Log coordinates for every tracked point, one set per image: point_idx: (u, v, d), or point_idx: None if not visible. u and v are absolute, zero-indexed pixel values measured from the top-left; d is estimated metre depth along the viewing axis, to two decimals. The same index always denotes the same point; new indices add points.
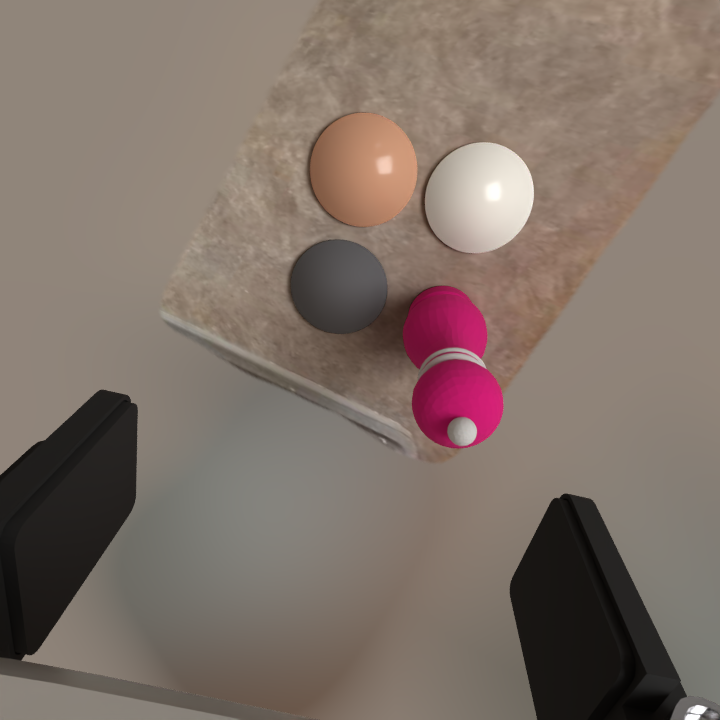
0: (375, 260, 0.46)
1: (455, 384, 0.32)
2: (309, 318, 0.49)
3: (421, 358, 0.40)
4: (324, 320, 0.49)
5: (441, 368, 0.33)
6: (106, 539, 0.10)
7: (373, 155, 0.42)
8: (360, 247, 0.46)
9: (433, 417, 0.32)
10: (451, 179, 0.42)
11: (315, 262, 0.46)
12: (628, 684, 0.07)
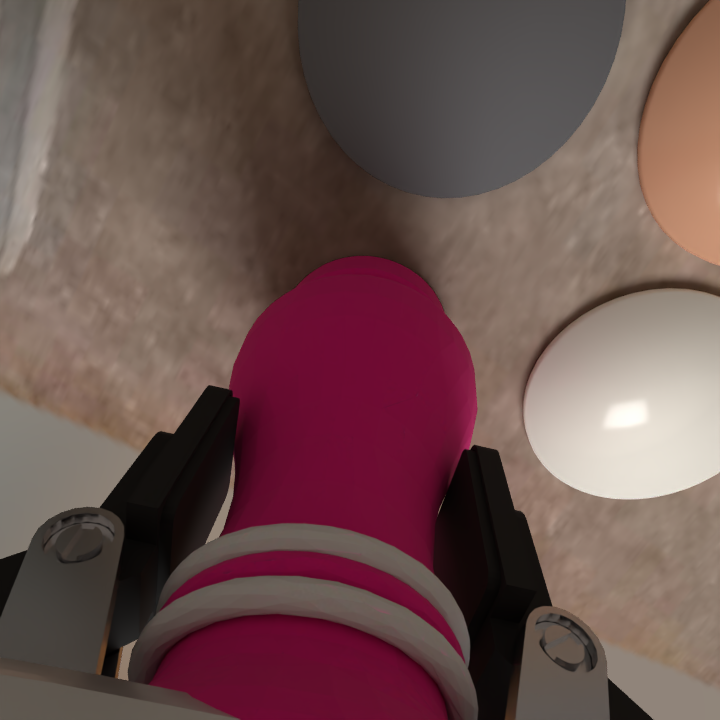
0: (576, 123, 0.15)
1: None
2: None
3: (337, 428, 0.10)
4: (332, 18, 0.14)
5: None
6: (211, 522, 0.11)
7: None
8: (610, 59, 0.14)
9: None
10: (713, 349, 0.18)
11: None
12: (495, 597, 0.08)
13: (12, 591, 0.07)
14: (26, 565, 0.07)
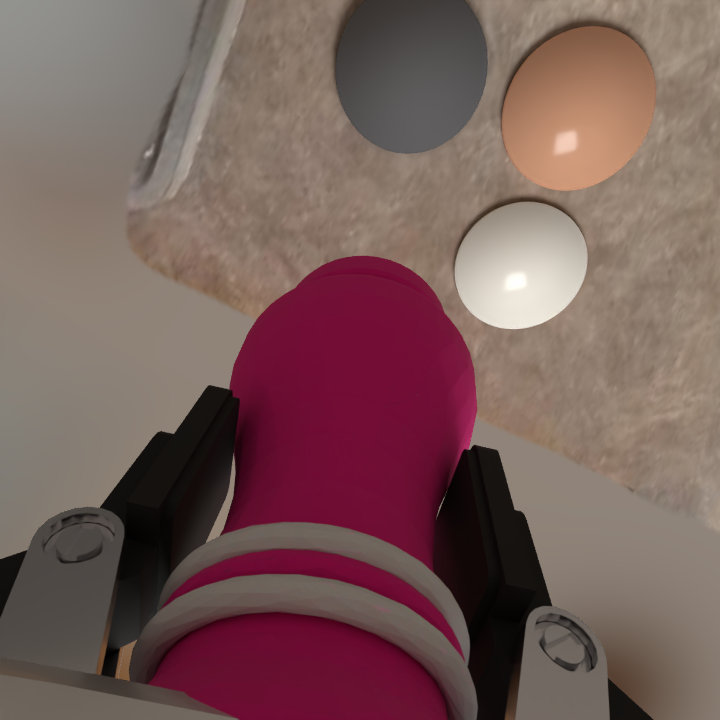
0: (479, 96, 0.31)
1: None
2: (342, 59, 0.30)
3: (337, 427, 0.10)
4: (352, 84, 0.31)
5: None
6: (211, 522, 0.11)
7: (596, 129, 0.31)
8: (486, 62, 0.30)
9: None
10: (550, 234, 0.34)
11: (428, 8, 0.29)
12: (494, 597, 0.08)
13: (12, 591, 0.07)
14: (26, 565, 0.07)
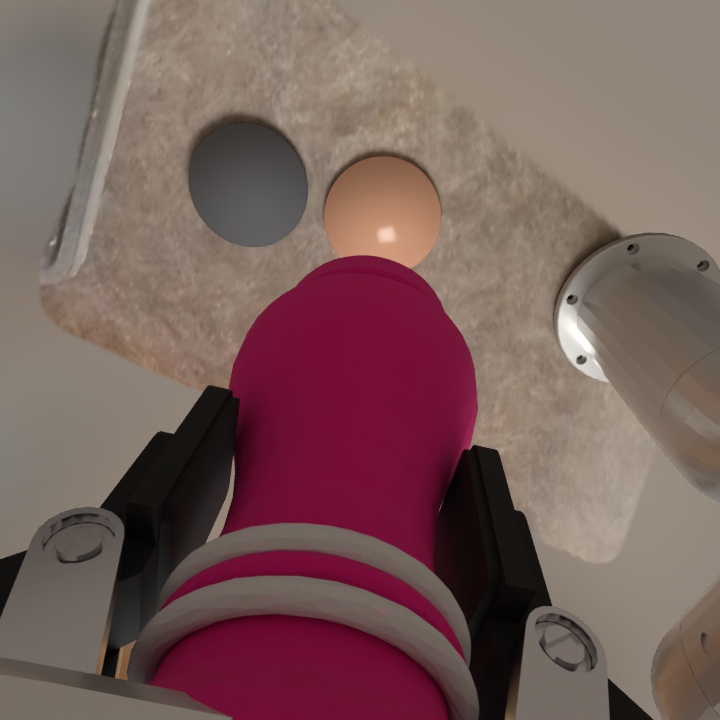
0: (305, 187, 0.39)
1: None
2: (195, 195, 0.39)
3: (337, 427, 0.10)
4: (210, 210, 0.40)
5: None
6: (212, 522, 0.11)
7: (398, 231, 0.40)
8: (299, 162, 0.38)
9: None
10: None
11: (242, 141, 0.37)
12: (494, 597, 0.08)
13: (12, 591, 0.07)
14: (26, 565, 0.07)
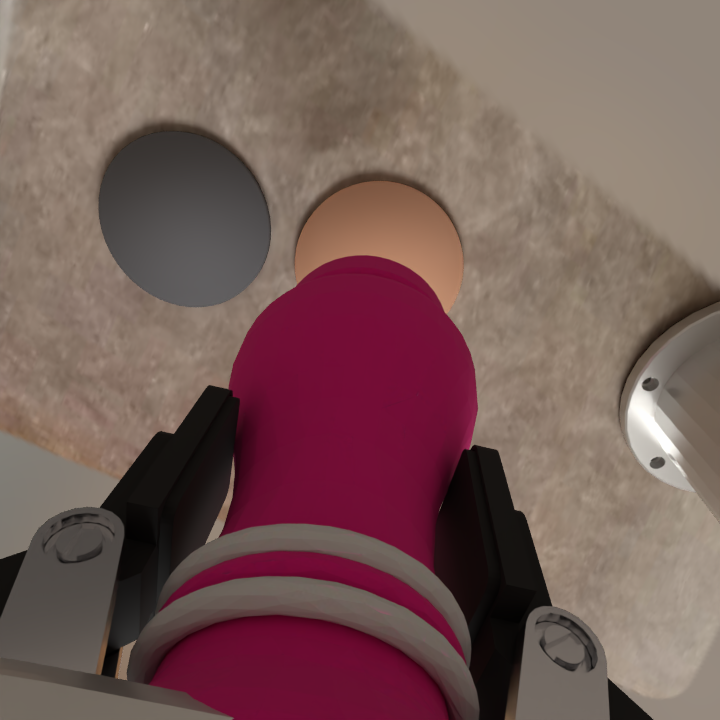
0: (259, 197, 0.26)
1: None
2: (120, 258, 0.28)
3: (337, 428, 0.10)
4: (145, 271, 0.28)
5: None
6: (212, 522, 0.11)
7: None
8: (239, 165, 0.25)
9: None
10: None
11: (153, 162, 0.26)
12: (494, 597, 0.08)
13: (12, 591, 0.07)
14: (26, 565, 0.07)
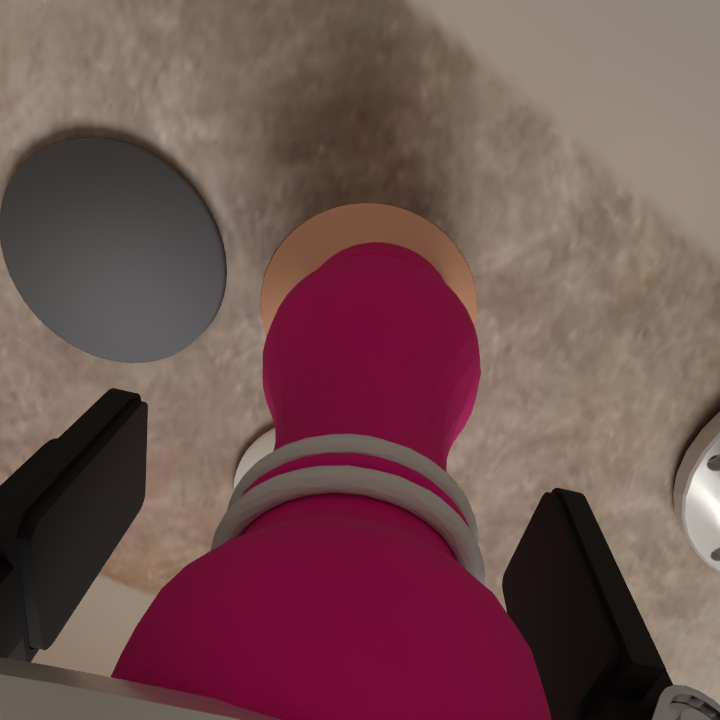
0: (185, 190, 0.19)
1: None
2: (57, 327, 0.22)
3: (366, 375, 0.12)
4: (91, 333, 0.22)
5: (545, 709, 0.06)
6: (117, 536, 0.11)
7: None
8: (146, 156, 0.19)
9: None
10: None
11: (46, 192, 0.20)
12: (615, 673, 0.08)
13: None
14: None
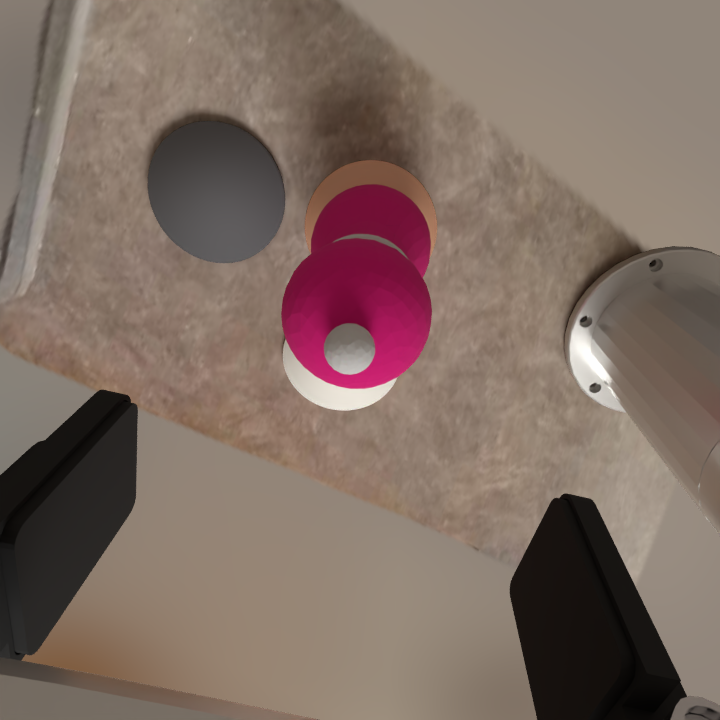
0: (252, 139, 0.32)
1: (417, 321, 0.19)
2: (191, 249, 0.35)
3: (368, 228, 0.25)
4: (212, 248, 0.35)
5: (425, 288, 0.20)
6: (106, 539, 0.10)
7: None
8: (225, 125, 0.32)
9: (358, 292, 0.18)
10: None
11: (172, 164, 0.33)
12: (628, 684, 0.07)
13: None
14: None
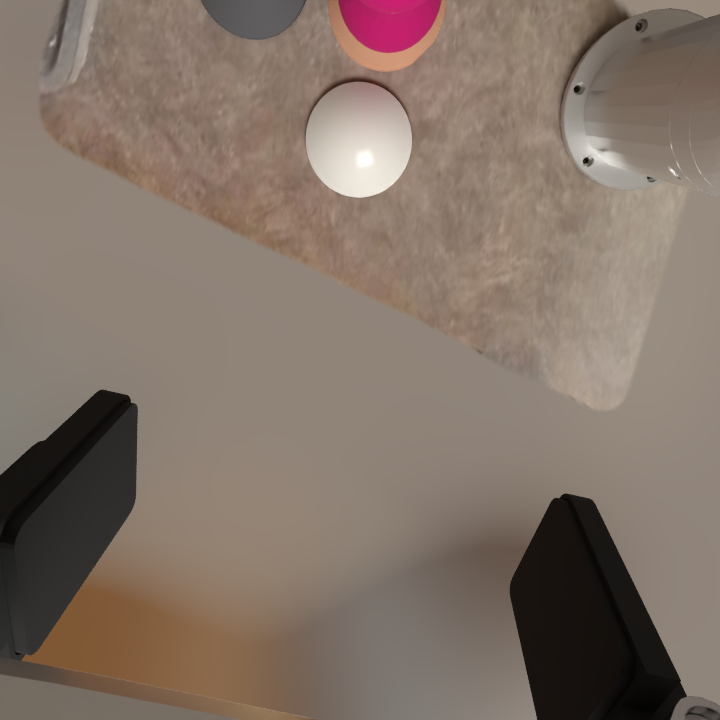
0: None
1: None
2: (247, 33, 0.40)
3: None
4: (262, 23, 0.40)
5: None
6: (106, 539, 0.10)
7: None
8: None
9: None
10: (378, 110, 0.42)
11: None
12: (628, 684, 0.07)
13: None
14: None
